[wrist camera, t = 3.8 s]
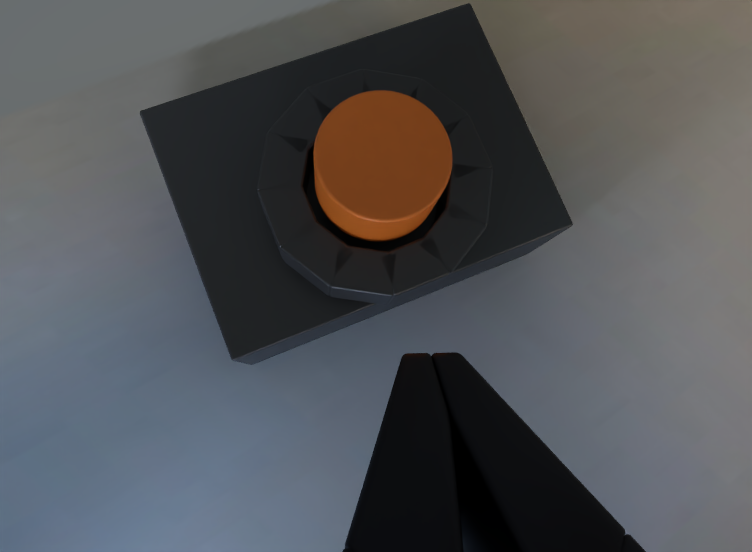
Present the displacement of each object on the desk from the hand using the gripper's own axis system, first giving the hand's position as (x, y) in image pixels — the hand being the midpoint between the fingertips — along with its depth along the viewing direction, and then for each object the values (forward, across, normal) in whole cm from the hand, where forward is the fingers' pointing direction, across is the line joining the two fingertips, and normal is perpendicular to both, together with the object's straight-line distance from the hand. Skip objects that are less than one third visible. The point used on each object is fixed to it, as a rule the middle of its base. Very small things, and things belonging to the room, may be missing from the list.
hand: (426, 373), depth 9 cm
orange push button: (+9, 0, +1) cm, 9 cm away
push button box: (+13, 0, +5) cm, 14 cm away
